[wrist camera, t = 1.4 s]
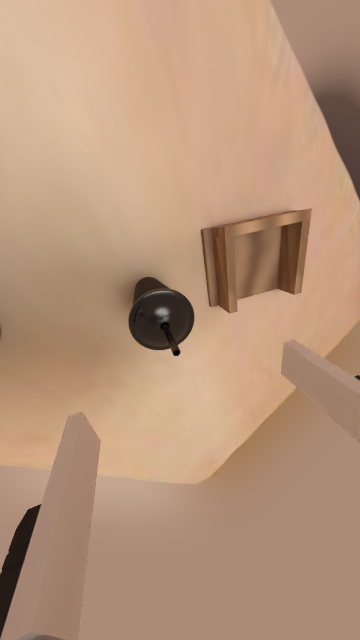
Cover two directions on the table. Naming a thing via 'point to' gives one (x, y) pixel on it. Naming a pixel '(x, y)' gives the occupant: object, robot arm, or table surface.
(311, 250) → the table surface
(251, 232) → the u rest
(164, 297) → the drinking cup
